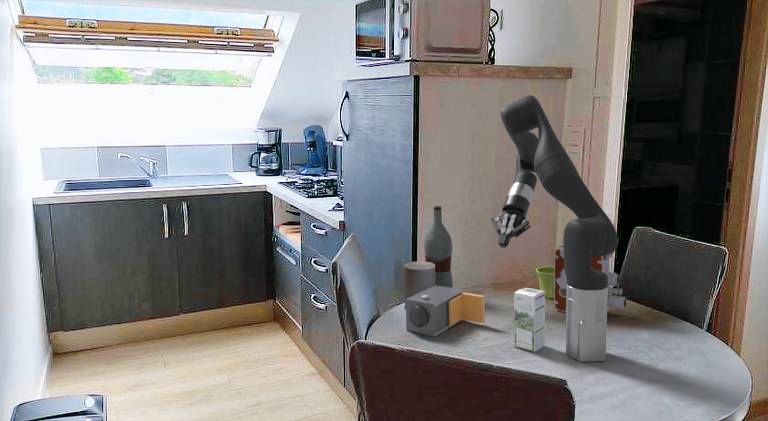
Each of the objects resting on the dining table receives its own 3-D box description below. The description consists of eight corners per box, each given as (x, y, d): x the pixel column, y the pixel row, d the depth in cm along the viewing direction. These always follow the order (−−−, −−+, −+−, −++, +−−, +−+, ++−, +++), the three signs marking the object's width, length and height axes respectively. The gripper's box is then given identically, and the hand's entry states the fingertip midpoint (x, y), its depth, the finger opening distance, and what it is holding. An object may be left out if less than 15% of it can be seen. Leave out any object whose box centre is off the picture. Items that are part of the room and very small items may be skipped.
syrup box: (545, 345, 143) (546, 290, 141) (533, 353, 139) (534, 295, 137) (525, 340, 147) (525, 286, 145) (513, 347, 143) (513, 291, 141)
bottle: (419, 296, 188) (417, 207, 184) (435, 290, 195) (433, 203, 191) (442, 301, 182) (441, 209, 178) (458, 294, 189) (457, 205, 185)
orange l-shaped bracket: (462, 317, 163) (462, 292, 162) (484, 321, 159) (484, 295, 158) (448, 325, 157) (448, 299, 156) (471, 330, 153) (471, 303, 152)
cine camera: (619, 323, 157) (621, 253, 155) (551, 311, 169) (552, 246, 166) (628, 314, 165) (630, 247, 162) (562, 303, 176) (563, 240, 173)
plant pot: (569, 300, 180) (569, 273, 179) (539, 300, 180) (540, 274, 179) (560, 291, 189) (561, 266, 188) (532, 292, 189) (532, 267, 188)
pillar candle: (398, 308, 176) (397, 261, 174) (418, 300, 183) (417, 255, 181) (422, 315, 170) (421, 266, 167) (442, 307, 177) (441, 260, 174)
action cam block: (435, 314, 170) (435, 282, 168) (463, 319, 164) (462, 286, 163) (404, 331, 156) (403, 297, 154) (433, 338, 151) (432, 302, 149)
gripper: (541, 209, 177) (526, 255, 169) (502, 206, 184) (485, 250, 176) (535, 194, 172) (519, 241, 164) (495, 192, 179) (478, 237, 171)
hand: (502, 246), depth 170 cm, fingers closed
